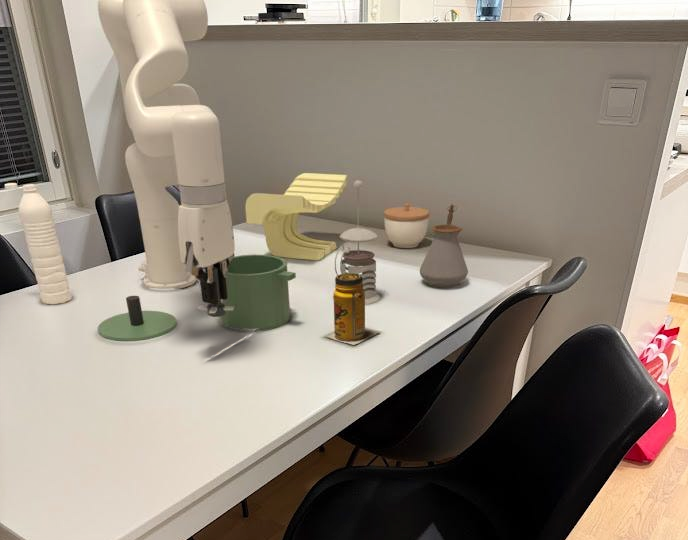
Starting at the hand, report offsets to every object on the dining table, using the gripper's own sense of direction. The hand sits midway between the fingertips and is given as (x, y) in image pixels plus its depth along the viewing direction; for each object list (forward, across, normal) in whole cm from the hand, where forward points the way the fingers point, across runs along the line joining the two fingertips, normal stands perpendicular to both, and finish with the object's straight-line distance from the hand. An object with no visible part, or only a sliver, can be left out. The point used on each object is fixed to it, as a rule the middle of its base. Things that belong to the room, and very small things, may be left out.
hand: (215, 299), depth 123 cm
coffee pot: (+11, -63, +21) cm, 67 cm away
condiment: (+10, -19, +19) cm, 28 cm away
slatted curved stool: (+12, -67, -23) cm, 72 cm away
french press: (+11, -39, +9) cm, 41 cm away
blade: (+3, 0, 0) cm, 3 cm away
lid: (+10, -2, -22) cm, 25 cm away
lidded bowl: (+11, -86, 0) cm, 86 cm away
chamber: (+11, -18, -4) cm, 21 cm away
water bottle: (+11, -7, -53) cm, 55 cm away
